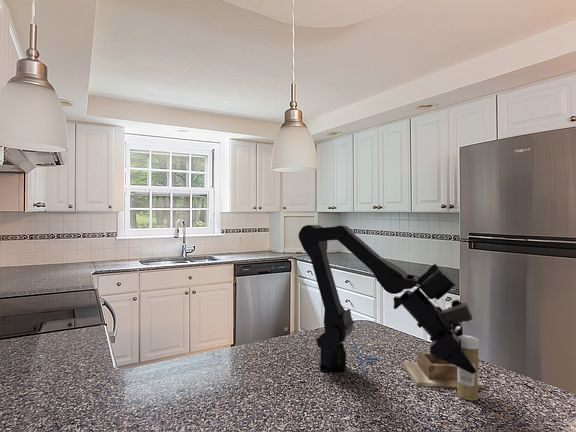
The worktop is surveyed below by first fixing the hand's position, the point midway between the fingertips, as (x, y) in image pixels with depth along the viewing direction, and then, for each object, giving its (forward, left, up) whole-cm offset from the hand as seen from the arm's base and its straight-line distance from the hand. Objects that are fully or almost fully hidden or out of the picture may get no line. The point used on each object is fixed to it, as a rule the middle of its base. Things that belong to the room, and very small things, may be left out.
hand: (474, 366), depth 83 cm
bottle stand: (-3, +12, -7) cm, 14 cm away
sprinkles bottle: (-1, +1, -7) cm, 7 cm away
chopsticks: (-20, +23, -8) cm, 31 cm away
